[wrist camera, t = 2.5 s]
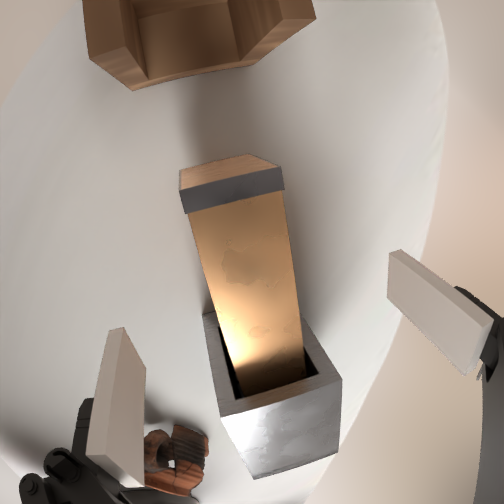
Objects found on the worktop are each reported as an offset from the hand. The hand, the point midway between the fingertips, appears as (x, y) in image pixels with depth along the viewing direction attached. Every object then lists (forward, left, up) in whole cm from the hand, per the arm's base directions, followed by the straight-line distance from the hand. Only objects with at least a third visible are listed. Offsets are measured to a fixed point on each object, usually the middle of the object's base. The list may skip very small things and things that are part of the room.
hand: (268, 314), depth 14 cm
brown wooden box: (0, +15, -9) cm, 17 cm away
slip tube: (0, -4, -7) cm, 8 cm away
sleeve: (0, -10, -9) cm, 14 cm away
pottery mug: (-13, -22, -10) cm, 27 cm away
